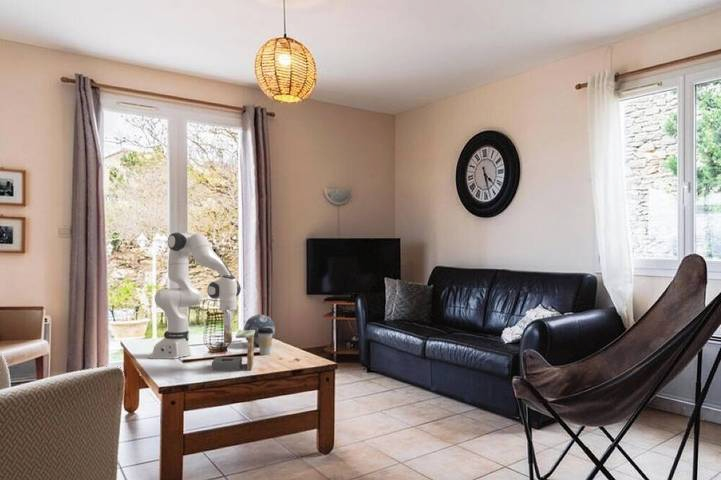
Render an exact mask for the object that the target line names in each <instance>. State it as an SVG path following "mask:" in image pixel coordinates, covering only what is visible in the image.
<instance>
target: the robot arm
mask: <svg viewBox="0 0 721 480" xmlns="http://www.w3.org/2000/svg"><path fill="white" fill-rule="evenodd" d="M167 246H168V249H170V250H169V254H168V263H167V264H168V270H167V271H168V279H169V280H171V282H173V283H176V284H177V285H178V288H177V287H176V288H175V287H174V288H164V289H163V288H162V289H160V290H158V291H157V292H156V294H155V295H154V302H155V303H154V304H155V305H156V306H157V307H158V308H160V309H161V310H162V311H163V312H164V313H165V316H166V318H167V330H165V331H164V333H163V337H164V338H162V339H161V340H160V341H158V342H157V343H155V345H154V346H153V350H152V352H151V353H149V354H148V358H149V359H156V360H157V359H159V360H160V359H162V360H163V359H165V360H167V359H168V360H176V359H179V357H181V358H184V357H183V356H186V357H189V356H190V355H191V351H190V347H189V345H190V344H189V340H190V332H189V318H188V316H187V315H186V313H185V314H184V313H183V312H180V311H178V308H187V307H189V308H190V307H193V306H194V307H195V306H197V305H199V304H200V303H201V301H202V299H203V298H202V292H201V290H200V289H198V288H197V287H196V286H195V285H194V284H193V283H192V281H191V279H190V274H189V273H190V271H189V256H190V254H191V256H192V257H193V261H195V263H196V264H197V265H198V266H201V267H204V268H208V269H211V270H214V271H215V272H217V273H218V274H219V277H220V278H219V279H217V280H215V281H211V282H209V284H208V285H207V295H208V296H209V297H210V298H211V299H215V300H217V299H218V300H219V310H220V311H221V313H222V314H223V327H224V326H225V327H226V333H229V329H230V326H231V322H232V323H233V319H234V313H235V311H236V310H238V296H239V295H240V293H241V289H242V287H241V284H240V282H238V280H237V278H236V277H235V276H234V275H233V274H232V272H231V270H230V269H229V267H228V266H227V264H226V263H225V261H224V260H223V259H222V258H221V257H220V256H219V255H217V253H216V252H215V251H214V249H213V248H212V246H211V244H210V241H208V239H207V237H206V236H205V235H204V234H202V233H193V232H172V233H171V234H169V236H168V238H167ZM188 355H189V356H188Z"/></svg>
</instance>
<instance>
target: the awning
mask: <svg viewBox="0 0 721 480" xmlns="http://www.w3.org/2000/svg"><path fill="white" fill-rule="evenodd" d="M254 333H255V330H244V329H240V330H238V332H237V333H236V335H235V338H236V339H246V338H248V341H247V349H246V350H247V355H246V359H247V360H246V361H247V362H246V365H247V366H246V371H252V369H253V365H254V358H255V357H254V355H255V354H254V352H255V351H254V350H255V349H254V347H255V345H254Z"/></svg>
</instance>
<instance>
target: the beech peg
mask: <svg viewBox="0 0 721 480" xmlns="http://www.w3.org/2000/svg"><path fill="white" fill-rule="evenodd" d="M232 330H233V321H232V322H231V326H230V329H229V333H226V327H225V326H224V325H223V343H226V344H227V343H232V342H233V341H232V339H233V337H232V336H233V333H232V332H233V331H232Z"/></svg>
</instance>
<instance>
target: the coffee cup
mask: <svg viewBox="0 0 721 480" xmlns="http://www.w3.org/2000/svg"><path fill="white" fill-rule="evenodd" d="M257 333H258V342H259V346H258V350H259V355H260V356H268V355H270V354H271V348H272V341H273V339H272V333H273V330H272V328H260V329H259V331H258V332H257Z"/></svg>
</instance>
